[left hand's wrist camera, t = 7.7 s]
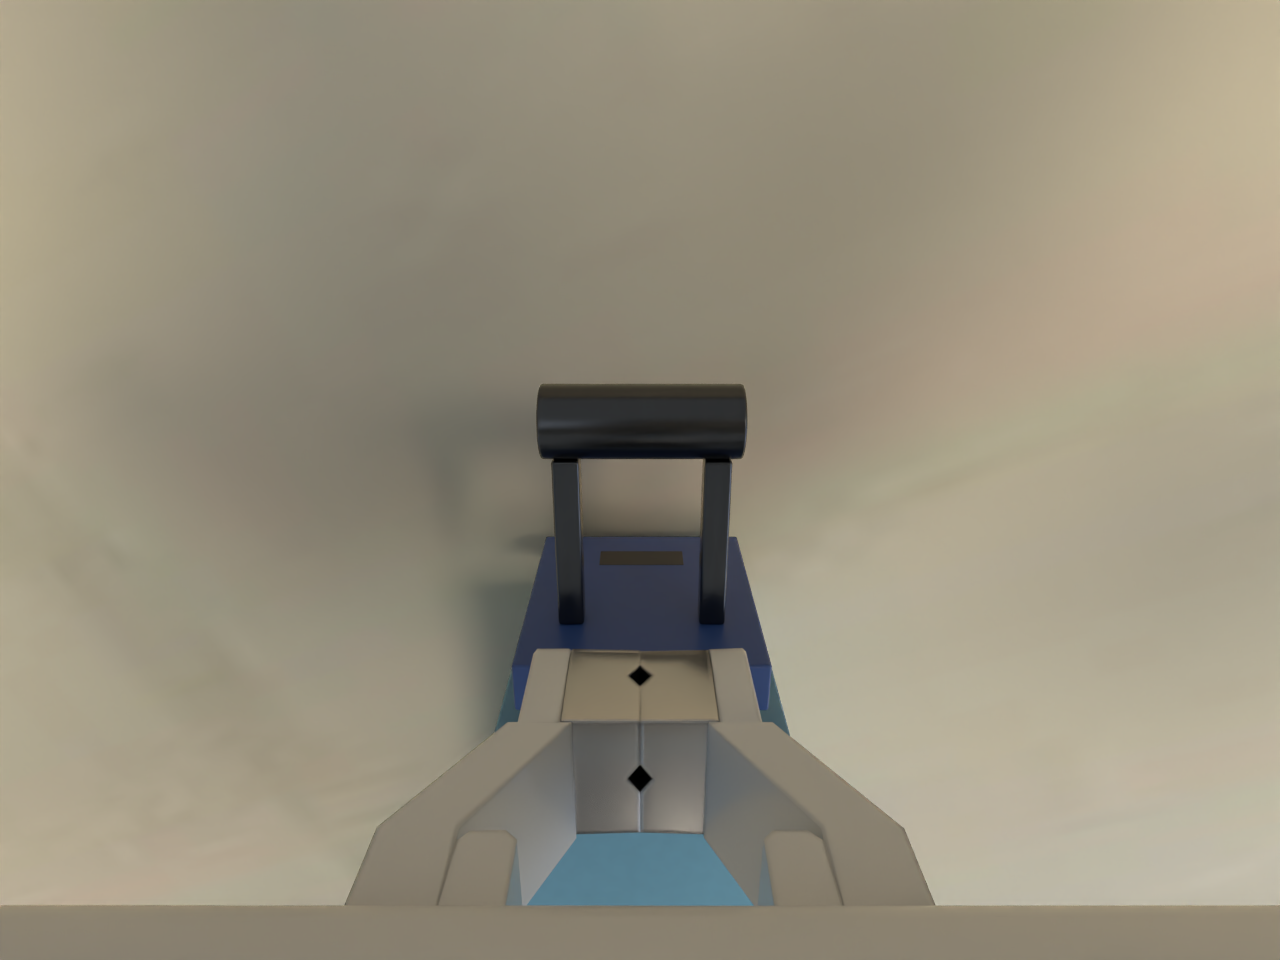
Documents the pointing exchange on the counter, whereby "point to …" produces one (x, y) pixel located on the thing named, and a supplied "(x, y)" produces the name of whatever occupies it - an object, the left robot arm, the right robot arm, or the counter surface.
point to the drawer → (642, 566)
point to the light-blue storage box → (641, 857)
